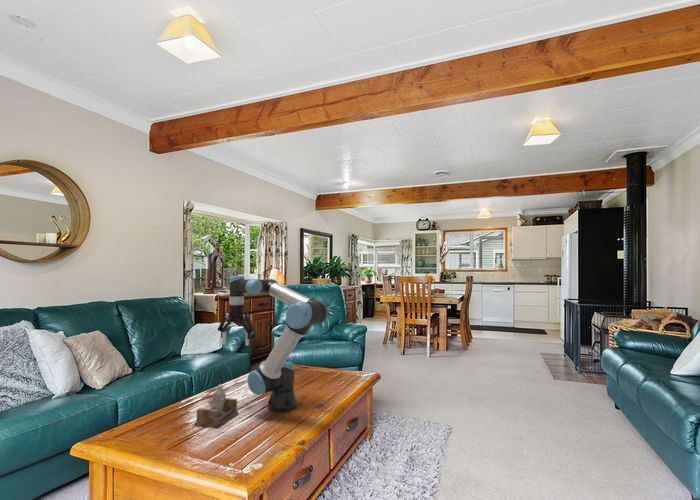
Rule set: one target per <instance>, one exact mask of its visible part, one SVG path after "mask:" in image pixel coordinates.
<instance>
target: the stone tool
mask: <svg viewBox="0 0 700 500" xmlns="http://www.w3.org/2000/svg"><path fill="white" fill-rule="evenodd" d="M211 397H212V398H211V400H210V402H209V406H210V409H213V410H219V416H220V415H221V414H222V412H223V411H222V408H223V406H224V403H225V398H227V397H226V393H225V391H224V388H223V385H222V384H221V383H219V384H218V386H216V388H215V390H214V391H213V393H212V396H211Z"/></svg>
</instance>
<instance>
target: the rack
mask: <svg viewBox="0 0 700 500" xmlns="http://www.w3.org/2000/svg"><path fill="white" fill-rule="evenodd" d="M237 405H238V398H228V397H225V403H224V406H223V408H222V411H223V412H222V414H221V415H220V416H219V410H213V409H211V408H203V407H202V408H201V407H200V408H196V422H194V426H195V427H204V428H213V429H219V428H221V427H222V426H224V425H225V424H226V423H228V422H229V421H231V420H233V418H235V417H237V416H238V415H239V411H237V409H238V406H237Z"/></svg>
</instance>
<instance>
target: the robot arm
mask: <svg viewBox="0 0 700 500" xmlns="http://www.w3.org/2000/svg"><path fill="white" fill-rule="evenodd" d="M228 284H229V297H228V300H229V301H228V304H229V305H228V313H227V312H226V313H223V315H222V319H221V321H220V323H219V325H218V327H217V331H218V332H220V338H221V345H226V344H227V331H226V330H227V329H228V328H229V327H230V325H231V324H233V323H239V324H241V326H242V327H243V329H244V331H245V346H250V340H251V338H252V333H253V332H255V327H254V325H253V323H252V321H251V319H250V314H249V313H245V314H244V311H245V307H244V304H245V303H244V302H245V294H249V295H257V294H267V295H268V296H271V297H273V298H275V299H277V300H279V301H281V302H283V303H286V305H289V307H288V308H287V310H286V311H285V327H284V329H283V332H282V333H281V335H279V338H278V340H277V341H276V343H275V345H274V346H273V348H272V349H271V352H270V353H269V355H268V357H266V359H265V360H263V361H261V362H260V364H259V365H258V367H257V369H254V370H252V371H250V372H249V374H248V376H247V386H248V387H249V390H250V392H251V393H252V394H253V395H255V396H261V395H265V394H267V393H269V392H271V393H270V395H269V397H268V401H267V409H268V410H270V411H273V412H288V411H292V410H294V409H296V408H297V407H298V399H297V397H296V394H295V365H294V362H291V361H287V360H288V359H289V357H290V356H291V354H292V352H293V350H294V349H295V347H296V346H297V344H298V343H299V341H300V340H301V338H302V337H303V336H306V335H307V334H308V333H309V331H310V330H311V328H312V327H315V326H319V325H321V324H323V323H324V322H325V321H326V320H327V318H328V316H329V309H328V307H327V305H326V303H324V302H323V301H322V300H320V299H318V298H315V297H308V296H306V295H304V294H301V293H300V292H298V291H296V290H293V289H292V288H290V287H286V286H284V285H282V284H280V283H279V282H278V281H277V279H274V278H273V279H272V278H266V279H265V278H264V279H263V278H262V279H257V278H256V279H255V278H253V279H252V278H251V279H245V276H244V275H231V276H230V277H229V283H228ZM226 321H227V322H226ZM245 321H246V322H245Z"/></svg>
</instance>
